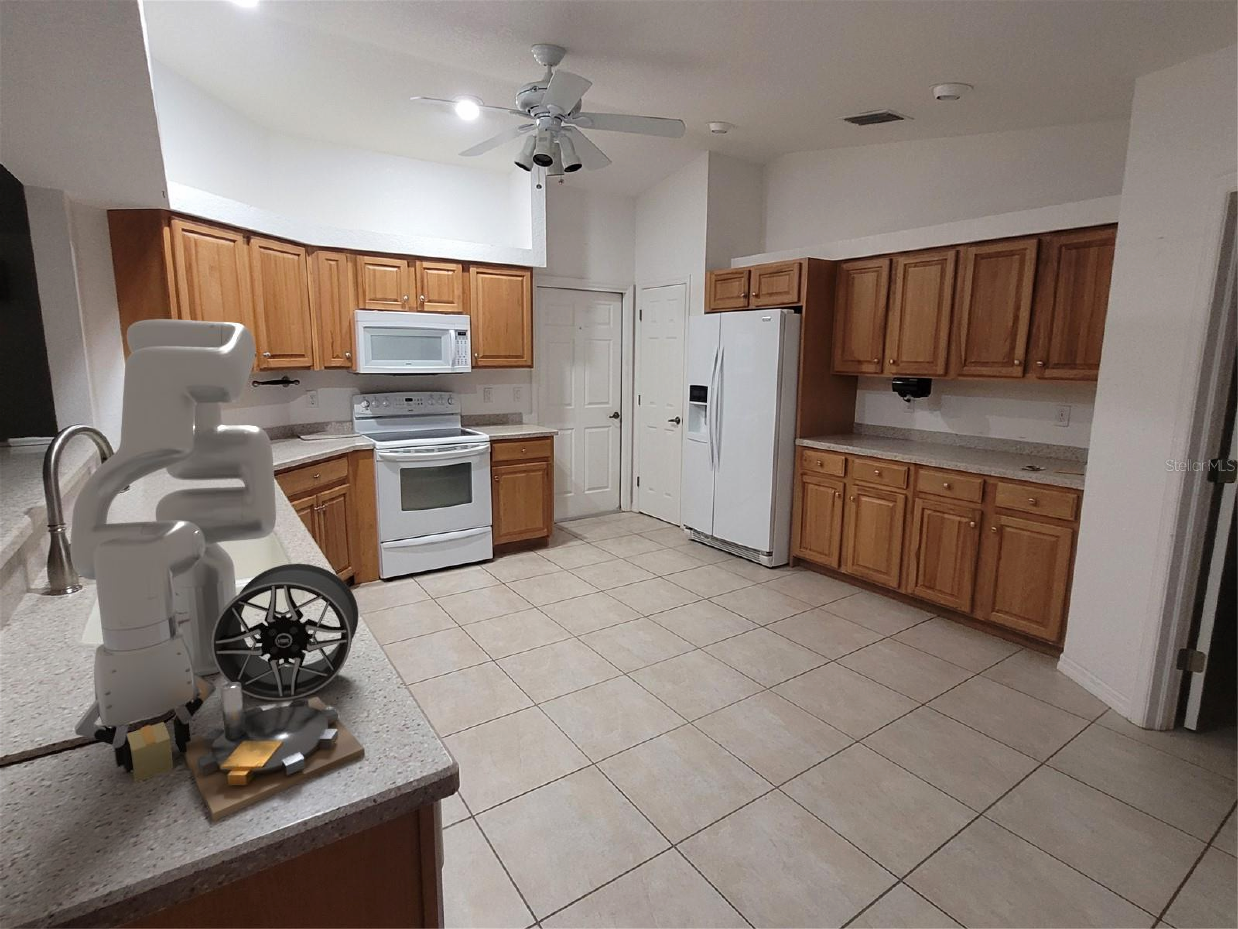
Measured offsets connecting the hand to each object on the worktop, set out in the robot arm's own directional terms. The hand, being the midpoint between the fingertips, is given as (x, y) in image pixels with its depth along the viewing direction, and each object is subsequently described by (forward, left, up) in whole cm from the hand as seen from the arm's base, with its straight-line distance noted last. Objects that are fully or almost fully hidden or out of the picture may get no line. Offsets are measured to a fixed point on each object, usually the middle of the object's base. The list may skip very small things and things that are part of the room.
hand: (155, 756), depth 81 cm
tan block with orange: (0, 0, -1) cm, 1 cm away
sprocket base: (+8, +12, -1) cm, 14 cm away
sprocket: (+8, +12, 0) cm, 14 cm away
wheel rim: (-9, +20, -1) cm, 22 cm away
